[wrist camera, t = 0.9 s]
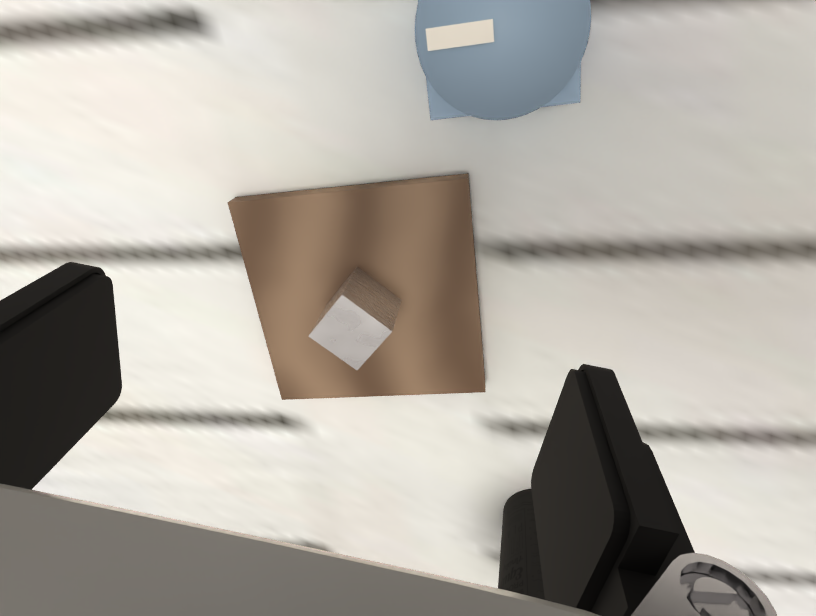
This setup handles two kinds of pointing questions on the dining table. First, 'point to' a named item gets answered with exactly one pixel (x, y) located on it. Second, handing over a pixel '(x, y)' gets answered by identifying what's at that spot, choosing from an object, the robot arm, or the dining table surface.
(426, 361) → the board
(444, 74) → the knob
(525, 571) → the drinking cup
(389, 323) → the pale wood block
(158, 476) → the dining table surface
